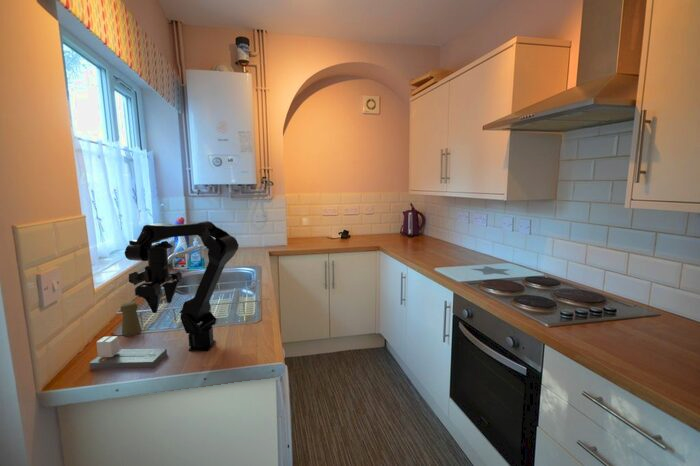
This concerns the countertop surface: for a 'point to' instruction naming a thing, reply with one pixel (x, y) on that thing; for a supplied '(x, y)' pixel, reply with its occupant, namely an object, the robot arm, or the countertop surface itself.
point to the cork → (130, 319)
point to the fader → (108, 346)
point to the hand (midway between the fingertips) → (162, 307)
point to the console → (130, 359)
